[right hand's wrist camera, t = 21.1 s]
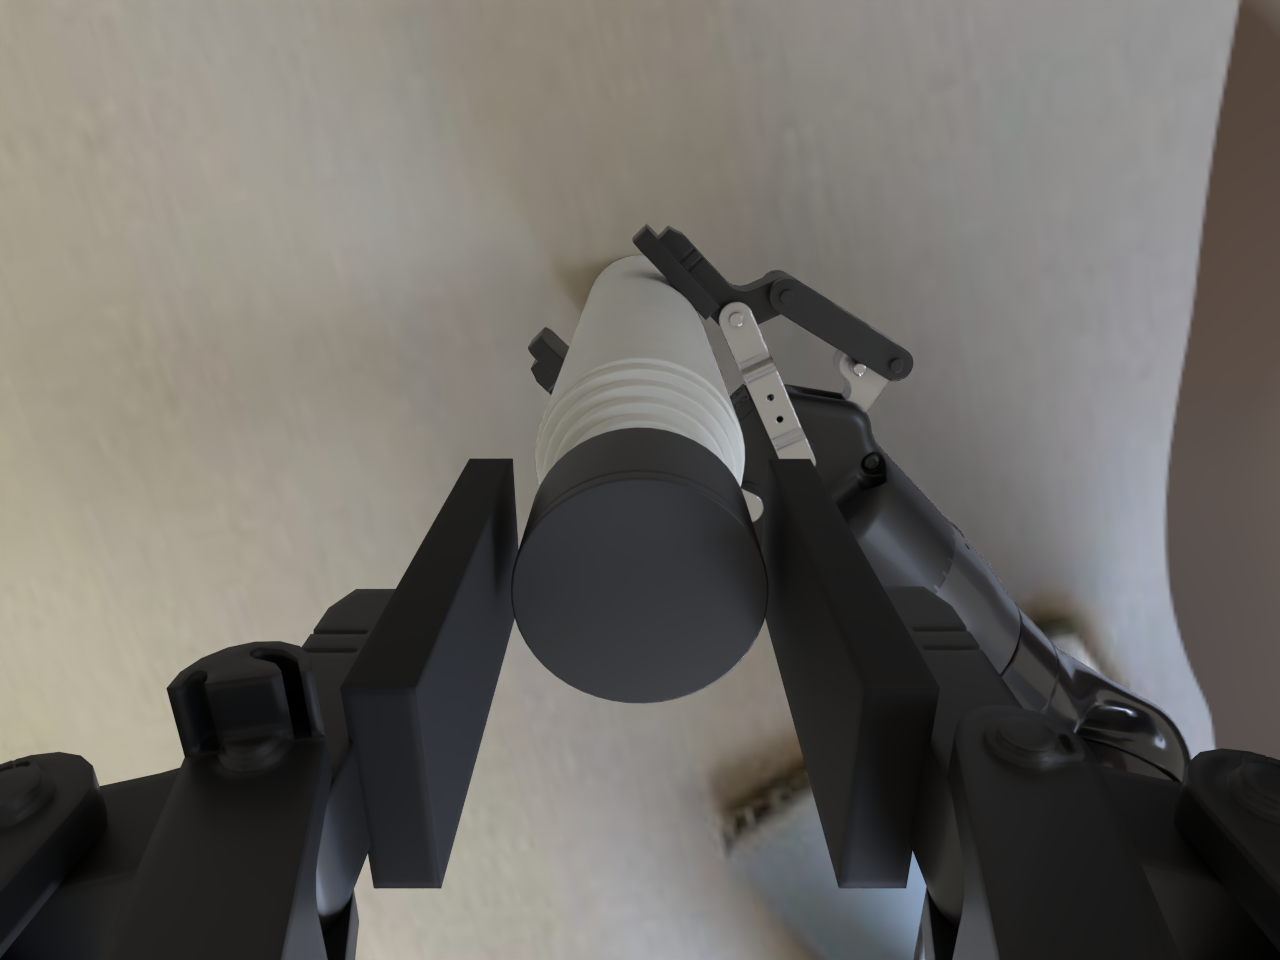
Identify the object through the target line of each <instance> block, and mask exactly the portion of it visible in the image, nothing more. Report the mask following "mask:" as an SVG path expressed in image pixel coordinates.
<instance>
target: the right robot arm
mask: <svg viewBox="0 0 1280 960" xmlns="http://www.w3.org/2000/svg"><path fill="white" fill-rule="evenodd" d="M761 552H762V555H763V558H764V561H765V565H766V570H767V575H768V587H769V596H768V605H767V611H766V615H765V619H766V622H767V626H768V630H769V633H770V637H771V641H772V644H773V648H774V652H775V655H776V659H777V663H778V666H779V670H780V674H781V677H782V681H783V685H784V688H785V692H786V696H787V699H788V703H789V707H790V710H791V714H792V718H793V721H794V725H795V729H796V732H797V736H798V740H799V743H800V747H801V751H802V754H803V758H804V762H805V765H806V769H807V773H808V776H809V780H810V784H811V787H812V791H813V795H814V798H815V802H816V806H817V809H818V813H819V817H820V820H821V824H822V828H823V831H824V835H825V839H826V843H827V846H828V850H829V854H830V857H831V861H832V865H833V868H834V872H835V876H836V879H837V883H838V887H839V888H906V886H907V880H908V874H909V868H910V862H911V856H912V850H913V852H914V855H915V857H916V860H917V862H918V865H919V868H920V870H921V873H922V875H923V878H924V880H925V883H926V885H927V888H926V893H925V899H924V904H923V910H922V915H921V921H920V926H919V932H918V937H917V943H916V948H915V954H914V960H1280V760H1277V759H1274V758H1271V757H1266V756H1265V755H1261V754H1256V753H1253V752H1248V751H1239V750H1231V749H1216V750H1210V751H1204V752H1200V753H1199V754H1198V755H1196V756H1195V757H1194V758H1193V759H1192V760H1191V761H1189V762H1188V765H1187V768H1186V771H1185V774H1184V777H1183V781H1182V783H1179V782H1174V781H1169V780H1165V779H1160V778H1155V777H1151V776H1146V775H1141V774H1137V773H1132V772H1127V771H1123V770H1119V769H1115V768H1112V767H1108V766H1105V765H1101V764H1098V762H1097V759H1096V757H1095V755H1094V754H1093V752H1092V751H1091V750H1090V748H1089V747H1088V745H1087V744H1086V743H1085V741H1084V740H1083V739H1082V738H1081V737H1080V736H1078V735H1077V734H1076V733H1074V732H1073V731H1072V730H1071V729H1069V728H1068V727H1067V726H1065V725H1064V724H1063V723H1061V722H1058V721H1056V720H1054V719H1052V718H1050V717H1048V716H1045V715H1043V714H1041V713H1039V712H1036V711H1032V710H1028V709H1024V708H1023V707H1022V706H1021V704H1020V703H1019V701H1018V700H1017V699H1016V697H1015V696H1014V694H1013V693H1012V691H1011V690H1010V689H1009V687H1008V686H1007V684H1006V683H1005V681H1004V680H1003V678H1002V677H1001V676H1000V674H999V673H998V671H997V670H996V668H995V667H994V666H993V664H992V663H991V661H990V660H989V658H988V657H987V655H986V654H985V653H984V651H983V650H980V648H979V644H978V643H977V641H976V640H975V638H974V637H973V635H972V634H971V633H970V632H967V627H966V625H965V624H964V622H963V621H962V620H961V618H960V617H959V615H958V614H957V612H956V611H955V610H954V608H953V607H952V605H950V604H949V603H947V602H946V601H944V600H943V599H942V598H940V597H939V596H937V595H936V594H934V593H933V592H931V591H930V590H928V589H927V588H925V587H883V586H882V584H881V583H880V581H879V579H878V577H877V576H876V574H875V572H874V570H873V569H872V567H871V565H870V563H869V562H868V560H867V558H866V556H865V554H864V553H863V551H862V549H861V547H860V546H859V544H858V542H857V540H856V539H855V537H854V535H853V533H852V531H851V530H850V528H849V526H848V524H847V523H846V521H845V519H844V517H843V516H842V514H841V512H840V510H839V509H838V507H837V505H836V503H835V501H834V500H833V498H832V496H831V494H830V493H829V491H828V489H827V487H826V486H825V484H824V482H823V480H822V479H821V477H820V475H819V473H818V471H817V470H816V468H815V466H814V464H813V463H812V461H811V459H767V472H766V488H765V503H764V519H763V535H762V550H761ZM517 554H518V535H517V519H516V504H515V488H514V472H513V459H469V461H468V463H467V464H466V466H465V468H464V470H463V471H462V473H461V475H460V477H459V478H458V480H457V482H456V484H455V486H454V487H453V489H452V491H451V493H450V494H449V496H448V498H447V500H446V501H445V503H444V505H443V507H442V509H441V510H440V512H439V514H438V516H437V517H436V519H435V521H434V523H433V524H432V526H431V528H430V530H429V531H428V533H427V535H426V537H425V539H424V540H423V542H422V544H421V546H420V547H419V549H418V551H417V553H416V554H415V556H414V558H413V560H412V561H411V563H410V565H409V567H408V569H407V570H406V572H405V574H404V576H403V577H402V579H401V581H400V583H399V584H398V586H397V588H396V589H356V590H354V591H353V592H351V593H350V594H348V595H347V596H346V597H344V598H343V599H341V600H340V601H338V602H337V603H335V604H334V605H332V606H331V607H330V608H328V610H327V611H326V613H325V614H324V616H323V617H322V619H321V620H320V621H319V623H318V624H317V626H316V627H315V629H314V634H311V635H310V636H309V637H308V639H307V640H306V642H305V643H304V645H303V646H302V648H301V647H300V646H297V645H293V644H289V643H285V642H281V641H269V642H252V643H247V644H242V645H237V646H233V647H228V648H226V649H223V650H221V651H218V652H216V653H213V654H211V655H208V656H206V657H203V658H201V659H200V660H198V661H196V662H195V663H193V664H192V665H190V666H189V667H187V668H186V669H184V670H183V671H181V672H180V673H179V674H178V675H177V677H176V678H175V679H174V680H173V681H172V682H171V684H170V685H169V686H168V687H167V692H168V695H169V699H170V703H171V707H172V710H173V714H174V718H175V722H176V725H177V729H178V733H179V737H180V740H181V744H182V748H183V752H184V755H185V758H184V761H183V763H182V765H181V768H177V769H174V770H170V771H167V772H163V773H159V774H155V775H150V776H145V777H141V778H136V779H132V780H127V781H122V782H118V783H113V784H109V785H104V786H99V784H98V781H97V777H96V774H95V771H94V768H93V766H92V765H91V764H90V763H89V762H88V761H86V760H85V759H84V758H83V757H82V756H80V755H74V754H68V753H62V752H55V753H46V754H37V755H30V756H27V757H23V758H19V759H16V760H14V761H9V762H6V763H3V764H0V960H355V954H356V945H357V935H358V926H359V918H358V911H357V904H356V899H355V893H354V887H355V884H356V882H357V879H358V877H359V874H360V872H361V869H362V867H363V864H364V861H365V859H366V856H367V854H368V856H369V862H370V868H371V874H372V880H373V886H374V888H441V887H442V883H443V879H444V875H445V872H446V868H447V864H448V861H449V857H450V853H451V850H452V846H453V842H454V839H455V835H456V831H457V828H458V824H459V820H460V817H461V813H462V809H463V806H464V802H465V798H466V795H467V791H468V787H469V784H470V780H471V776H472V773H473V769H474V765H475V762H476V758H477V754H478V751H479V747H480V743H481V740H482V736H483V732H484V729H485V725H486V721H487V718H488V714H489V710H490V707H491V703H492V699H493V696H494V692H495V688H496V685H497V681H498V677H499V674H500V670H501V666H502V663H503V659H504V655H505V652H506V648H507V644H508V641H509V637H510V633H511V630H512V626H513V622H514V619H515V616H514V612H513V606H512V601H511V581H512V573H513V568H514V565H515V561H516V557H517Z"/></svg>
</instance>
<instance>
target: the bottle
mask: <svg viewBox="0 0 1280 960" xmlns="http://www.w3.org/2000/svg"><path fill="white" fill-rule="evenodd" d="M635 427H639V428H655V429H662V430H667V431H670V432H674V433H677V434H681V435H683V436H685V437H688V438H690V439H692V440H694V441H696V442H698V443H699V444H701V445H703V446H704V447H706V448H707V449H709V450H710V451H711V452H713V453H714V454H715V455H716V456H718V457H719V459H720V460H721V461H722V462H723V463H724V464H725V465H726V466H727V467H728V468H729V470H730V471H731V472H732V474H733V475H734V476H735V478H736V480H737V482H738V484H739V485H740V487H741V483H742V477H743V472H744V463H745V446H744V440H743V434H742V431H741V428H740V424H739V421H738V419H737V416H736V413H735V411H734V408H733V405H732V403H731V400H730V397H729V395H728V392H727V389H726V387H725V384H724V381H723V378H722V376H721V373H720V370H719V368H718V365H717V362H716V360H715V357H714V354H713V352H712V349H711V346H710V344H709V341H708V338H707V336H706V333H705V330H704V328H703V325H702V322H701V320H700V317H699V314H698V312H697V310H696V309H695V308H694V307H693V306H692V305H691V303H690V302H689V301H688V300H687V299H686V298H685V297H684V296H683V295H682V294H681V293H680V292H679V291H678V290H677V289H676V288H675V287H674V286H673V285H672V284H671V283H670V282H669V280H668V279H667V278H666V277H665V276H664V275H663V274H662V273H661V272H660V271H659V270H658V269H657V268H656V267H655V266H654V265H653V264H652V263H651V261H650V260H649V259H648V258H647V257H646V256H645V255H636V256H629V257H625V258H622V259H619V260H617V261H615V262H614V263H612V264H611V265H609V266H608V267H607V268H605V269H604V270H603V271H602V272H601V274H600V275H599V276H598V277H597V279H596V280H595V282H594V284H593V286H592V288H591V291H590V293H589V296H588V299H587V301H586V304H585V307H584V309H583V312H582V315H581V317H580V320H579V323H578V325H577V328H576V331H575V333H574V336H573V339H572V341H571V344H570V347H569V349H568V352H567V355H566V357H565V360H564V363H563V365H562V368H561V371H560V373H559V376H558V379H557V381H556V384H555V387H554V389H553V392H552V394H551V397H550V400H549V402H548V405H547V408H546V410H545V413H544V416H543V418H542V421H541V424H540V427H539V431H538V434H537V440H536V446H535V464H536V472H537V477H538V484H539V487H540V485H541V483H542V481H543V480H544V478H545V476H546V475H547V473H548V472H549V471H550V469H551V468H552V467H553V466H554V465H555V463H556V462H557V461H558V460H559V459H560V458H561V457H563V456H564V455H565V454H566V453H567V452H568V451H570V450H571V449H573V448H574V447H575V446H577V445H578V444H580V443H582V442H584V441H586V440H588V439H590V438H592V437H594V436H597V435H600V434H602V433H605V432H609V431H614V430H618V429H625V428H635Z"/></svg>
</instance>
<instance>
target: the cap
mask: <svg viewBox="0 0 1280 960" xmlns="http://www.w3.org/2000/svg"><path fill="white" fill-rule="evenodd" d="M768 596H769V587H768V575H767V570H766V565H765V561H764V558H763V555H762V552H761V548H760V545H759V542H758V539H757V535H756V532H755V529H754V526H753V522H752V519H751V516H750V513H749V509H748V506H747V503H746V500H745V497H744V495H743V492H742V489H741V487H740V485H739V484H738V482H737V480H736V478H735V476H734V475H733V474H732V472H731V471H730V470H729V468H728V467H727V466H726V465H725V464H724V463H723V462H722V461H721V460H720V459H719V457H718V456H716V455H715V454H714V453H713V452H711V451H710V450H709V449H707V448H706V447H704V446H703V445H701V444H699V443H698V442H696V441H694V440H692V439H690V438H688V437H685V436H683V435H681V434H677V433H674V432H670V431H667V430H662V429H655V428H639V427H635V428H625V429H618V430H614V431H609V432H605V433H602V434H600V435H597V436H594V437H592V438H590V439H588V440H586V441H584V442H582V443H580V444H578V445H577V446H575V447H574V448H573V449H571V450H570V451H568V452H567V453H566V454H565V455H564V456H563V457H561V458H560V459H559V460H558V461H557V462H556V463H555V465H554V466H553V467H552V468H551V469H550V471H549V472H548V473H547V475H546V476H545V478H544V480H543V481H542V483H541V485H540V487H539V489H538V492H537V494H536V496H535V499H534V502H533V506H532V509H531V512H530V515H529V519H528V522H527V525H526V528H525V531H524V535H523V538H522V541H521V544H520V548H519V551H518V554H517V557H516V561H515V565H514V568H513V573H512V581H511V601H512V606H513V612H514V616H515V619H516V622H517V625H518V628H519V630H520V632H521V634H522V636H523V638H524V640H525V642H526V644H527V645H528V647H529V648H530V650H531V651H532V653H533V654H534V655H535V656H536V658H537V659H538V660H539V661H540V662H541V663H542V664H543V665H544V666H545V667H546V668H547V669H548V670H549V671H551V672H552V673H553V674H554V675H555V676H556V677H558V678H560V679H561V680H563V681H564V682H566V683H567V684H569V685H570V686H572V687H574V688H576V689H578V690H580V691H582V692H585V693H588V694H590V695H593V696H596V697H599V698H603V699H607V700H611V701H618V702H625V703H654V702H663V701H668V700H673V699H677V698H680V697H683V696H687V695H690V694H692V693H695V692H697V691H699V690H701V689H704V688H706V687H707V686H709V685H711V684H712V683H714V682H716V681H718V680H719V679H720V678H722V677H723V676H724V675H726V674H727V673H728V672H730V671H731V670H732V669H733V668H734V667H735V666H736V665H737V664H738V663H739V662H740V661H741V660H742V658H743V657H744V656H745V655H746V653H747V652H748V651H749V650H750V648H751V646H752V645H753V643H754V641H755V640H756V638H757V636H758V634H759V632H760V629H761V627H762V625H763V622H764V618H765V615H766V611H767V605H768Z"/></svg>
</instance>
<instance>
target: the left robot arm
mask: <svg viewBox="0 0 1280 960" xmlns="http://www.w3.org/2000/svg"><path fill="white" fill-rule="evenodd" d="M633 243H634V244H635V245H636V246H637V248H638V249H639V250H640V251H641V252H642V253H643V254H644V255H645V256H646V257H647V258H648V259H649V260H650V261H651V263H652V264H653V265H654V266H655V267H656V268H657V269H658V270H659V271H660V272H661V273H662V274H663V275H664V276H665V277H666V278H667V279H668V280H669V282H670V283H671V284H672V285H673V286H674V287H675V288H676V289H677V290H678V291H679V292H680V293H681V294H682V295H683V296H684V297H685V298H686V299H687V300H688V301H689V302H690V303H691V305H692V306H693V307H694V308H695V309H696V310H697V311H698V312H699V313H700V314H701V315H702V316H703V317H704V318H705V320H707V319H708V318H709V317H710V316H711V317H712V318H713V319H714V320H715V321H716V323H717V324H718V325H719V326H720V328H721V330H722V332H723V335H724V337H725V339H726V341H727V344H728V346H729V348H730V350H731V353H732V355H733V357H734V360H735V362H736V364H737V366H738V369H739V371H740V373H741V375H742V378H743V380H744V382H745V384H746V386H745V385H744V384H743V385H742V386H741V387H740V388H738V389H737V390H736V391H735V392H734V393H733V394H732V395H731V396H730V400H731V403H732V405H733V408H734V411H735V413H736V416H737V419H738V421H739V424H740V428H741V431H742V434H743V440H744V446H745V463H744V472H743V477H742V483H741V489H742V492H743V495H744V497H745V500H746V503H747V506H748V509H749V513H750V516H751V519H752V522H753V526H754V529H755V532H756V535H757V539H758V542H759V545H760V548H761V550H762V535H763V519H764V503H765V488H766V472H767V459H811V461H812V463H813V464H814V466H815V468H816V470H817V471H818V473H819V475H820V477H821V479H822V480H823V482H824V484H825V486H826V487H827V489H828V491H829V493H830V494H831V496H832V498H833V500H834V501H835V503H836V505H837V507H838V509H839V510H840V512H841V514H842V516H843V517H844V519H845V521H846V523H847V524H848V526H849V528H850V530H851V531H852V533H853V535H854V537H855V539H856V540H857V542H858V544H859V546H860V547H861V549H862V551H863V553H864V554H865V556H866V558H867V560H868V562H869V563H870V565H871V567H872V569H873V570H874V572H875V574H876V576H877V577H878V579H879V581H880V583H881V584H882V586H883V587H925V588H927V589H928V590H930V591H931V592H933V593H934V594H936V595H937V596H939V597H940V598H942V599H943V600H944V601H946V602H947V603H949V604H950V605H952V607H953V608H954V610H955V611H956V612H957V614H958V615H959V617H960V618H961V620H962V621H963V622H964V624H965V625H966V627H967V632H970V633H971V634H972V635H973V637H974V638H975V640H976V641H977V643H978V644H979V648H980V650H983V651H984V653H985V654H986V655H987V657H988V658H989V660H990V661H991V663H992V664H993V666H994V667H995V668H996V670H997V671H998V673H999V674H1000V676H1001V677H1002V678H1003V680H1004V681H1005V683H1006V684H1007V686H1008V687H1009V689H1010V690H1011V691H1012V693H1013V694H1014V696H1015V697H1016V699H1017V700H1018V701H1019V703H1020V704H1021V706H1022V707H1023V708H1024V709H1028V710H1032V711H1036V712H1039V713H1041V714H1043V715H1045V716H1048V717H1050V718H1052V719H1054V720H1056V721H1058V722H1061V723H1063V724H1064V725H1065V726H1067V727H1068V728H1069V729H1071V730H1072V731H1073V732H1074V733H1076V734H1077V735H1078V736H1080V737H1081V738H1082V739H1083V740H1084V741H1085V743H1086V744H1087V745H1088V747H1089V748H1090V750H1091V751H1092V752H1093V754H1094V755H1095V757H1096V759H1097V762H1098V764H1101V765H1105V766H1108V767H1112V768H1115V769H1119V770H1123V771H1127V772H1132V773H1137V774H1141V775H1146V776H1151V777H1155V778H1160V779H1165V780H1169V781H1174V782H1179V783H1182V781H1183V777H1184V774H1185V771H1186V768H1187V765H1188V762H1189V761H1191V760H1192V757H1191V754H1190V750H1189V747H1188V745H1187V743H1186V740H1185V738H1184V736H1183V734H1182V732H1181V731H1180V729H1179V728H1178V726H1177V725H1176V723H1175V722H1174V721H1173V719H1172V718H1171V717H1170V716H1169V715H1168V714H1167V713H1166V712H1165V711H1164V710H1162V709H1161V708H1160V707H1158V706H1157V705H1155V704H1154V703H1152V702H1150V701H1149V700H1147V699H1145V698H1143V697H1141V696H1139V695H1137V694H1135V693H1133V692H1131V691H1129V690H1127V689H1126V688H1124V687H1122V686H1120V685H1118V684H1116V683H1115V682H1113V681H1111V680H1109V679H1108V678H1106V677H1104V676H1102V675H1101V674H1099V673H1097V672H1096V671H1094V670H1092V669H1091V668H1089V667H1088V666H1086V665H1084V664H1082V663H1081V662H1079V661H1077V660H1075V659H1074V658H1072V657H1070V656H1068V655H1067V654H1065V653H1064V652H1062V651H1060V650H1059V649H1057V648H1056V647H1055V645H1054V644H1053V643H1052V642H1051V641H1050V640H1049V638H1048V637H1047V636H1046V635H1044V634H1043V632H1042V631H1041V630H1040V629H1039V628H1038V627H1037V626H1036V625H1035V624H1034V623H1033V622H1032V621H1031V619H1030V618H1029V617H1028V616H1027V615H1026V614H1025V613H1024V612H1023V611H1022V610H1021V609H1020V608H1019V607H1018V605H1017V604H1016V603H1015V602H1014V601H1013V600H1012V598H1011V597H1010V596H1009V595H1008V594H1007V592H1006V591H1005V590H1004V588H1003V587H1002V585H1001V584H1000V582H999V580H998V579H997V577H996V576H995V574H994V573H993V571H992V570H991V568H990V567H989V566H988V565H987V563H986V562H985V561H984V560H983V558H982V557H981V556H980V555H979V554H978V552H977V551H976V550H975V549H974V548H973V547H972V546H971V545H970V544H969V543H968V542H967V541H966V539H965V537H964V536H963V534H962V533H961V531H960V530H959V529H958V528H957V527H956V526H955V525H954V524H953V523H951V522H950V521H948V520H947V519H946V518H945V517H944V516H943V515H942V513H941V512H940V511H939V510H938V509H937V508H936V507H935V506H934V505H933V504H932V503H931V502H930V500H929V499H928V498H927V497H926V496H925V495H924V494H923V493H922V492H921V491H920V490H919V489H918V487H917V486H916V485H915V484H914V483H913V482H912V481H911V480H910V479H909V478H908V477H907V476H906V474H905V473H904V472H903V471H902V470H901V469H900V468H899V467H898V466H897V465H896V464H895V463H894V461H893V460H892V459H891V458H890V457H889V456H888V455H887V454H886V453H885V452H884V451H883V450H882V448H881V447H880V446H879V445H878V444H877V443H876V441H875V440H874V437H873V434H872V430H871V423H870V420H869V417H868V415H867V413H866V412H867V411H868V409H869V408H870V407H871V405H872V404H873V403H874V401H875V400H876V398H877V397H878V396H879V394H880V393H881V392H882V390H883V389H884V387H885V386H886V385H887V383H888V382H889V381H899V380H902V379H904V378H905V377H907V376H908V375H909V373H910V372H911V370H912V367H913V358H912V356H911V354H910V353H909V352H908V351H906V350H905V349H904V348H902V347H901V346H899V345H898V344H897V343H895V342H894V341H892V340H891V339H890V338H888V337H887V336H885V335H884V334H882V333H881V332H879V331H877V330H876V329H874V328H873V327H871V326H869V325H868V324H866V323H865V322H863V321H862V320H860V319H858V318H857V317H855V316H854V315H852V314H850V313H849V312H847V311H846V310H844V309H843V308H841V307H839V306H838V305H836V304H835V303H833V302H831V301H830V300H828V299H827V298H825V297H824V296H822V295H820V294H819V293H817V292H816V291H814V290H812V289H811V288H809V287H808V286H806V285H805V284H803V283H801V282H800V281H798V280H797V279H795V278H793V277H792V276H790V275H789V274H787V273H785V272H784V271H781V270H773V271H770V272H768V273H767V274H766V275H765V276H764V277H763V278H761V279H759V280H756V281H754V282H752V283H750V284H747V285H743V286H736V285H733V284H730V283H729V282H727V281H726V280H725V279H724V278H723V277H722V276H721V275H720V273H719V272H718V271H717V270H716V269H715V268H714V267H713V266H712V265H711V264H710V263H709V262H708V260H707V259H706V258H705V257H704V256H703V255H702V254H701V253H700V252H699V251H698V250H697V249H696V247H695V246H694V245H693V244H692V243H691V242H690V241H689V240H688V239H687V238H686V237H685V235H684V234H683V233H682V232H680V231H678V230H676V229H673V228H671V227H669V226H667V227H666V228H665V229H664V230H663V231H662V232H661V233H660V234H659V235H657V234H656V233H655V232H654V231H653V230H652V229H651V228H650V227H649V226H648V225H647V224H646V225H645V226H644V227H643V228H642V229H641V230H640V231H639V232H638V233H637V234H636V235H635V236H634V237H633ZM780 314H782V315H784V316H785V317H787V318H788V319H790V320H792V321H793V322H795V323H796V324H798V325H800V326H801V327H803V328H805V329H806V330H808V331H809V332H811V333H813V334H814V335H816V336H817V337H819V338H821V339H822V340H824V341H826V342H827V343H829V344H830V345H832V346H834V347H835V348H837V349H838V350H837V351H836V353H835V355H834V359H833V362H834V366H835V368H836V369H837V371H838V372H839V373H840V374H841V375H842V376H843V377H844V380H845V388H844V391H843V392H842V394H841V393H835V392H829V391H823V390H817V389H811V388H805V387H799V386H793V385H787V384H783V382H782V380H781V377H780V375H779V373H778V370H777V368H776V366H775V364H774V361H773V359H772V357H771V355H770V353H769V351H768V349H767V346H766V344H765V341H764V339H763V337H762V334H761V332H760V330H759V327H758V324H760V323H762V322H765V321H767V320H769V319H771V318H774V317H776V316H778V315H780ZM528 349H529V351H530V353H531V354H532V355H533V357H534V358H535V359H536V360H535V362H534V363H533V365H532V367H531V370H532V372H533V374H534V376H535V378H536V381H537V382H538V383H539V384H540V385H541V386H542V387H543V388H544V389H545V390H546V391H547V392H549V393H550V394H552V392H553V389H554V387H555V384H556V381H557V379H558V376H559V373H560V371H561V368H562V365H563V363H564V360H565V357H566V355H567V352H568V349H569V347H568V346H567V345H566V344H565V343H564V342H563V341H562V340H561V339H560V338H559V337H558V336H557V335H556V334H555V333H554V332H553V331H552V330H550V329H549V328H547V327H545V328H544V329H543V330H542V331H541V332H540V333H539V334H538V335H537V336H536V337H535V338H534V339H533V340H532V342H531V343H530V345H529V347H528Z"/></svg>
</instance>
